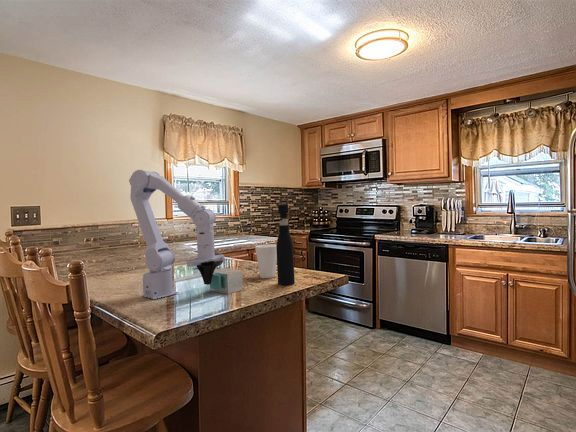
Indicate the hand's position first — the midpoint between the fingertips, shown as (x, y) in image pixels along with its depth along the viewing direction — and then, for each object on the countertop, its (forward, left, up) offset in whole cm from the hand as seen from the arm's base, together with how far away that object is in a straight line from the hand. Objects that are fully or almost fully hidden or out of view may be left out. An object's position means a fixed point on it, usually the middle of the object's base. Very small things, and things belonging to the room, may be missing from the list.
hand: (207, 284), depth 119 cm
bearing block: (+8, 0, -4) cm, 9 cm away
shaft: (+8, 0, -2) cm, 8 cm away
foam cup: (+33, +2, -4) cm, 33 cm away
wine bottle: (+27, -13, -4) cm, 30 cm away
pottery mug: (+34, +41, -4) cm, 53 cm away
